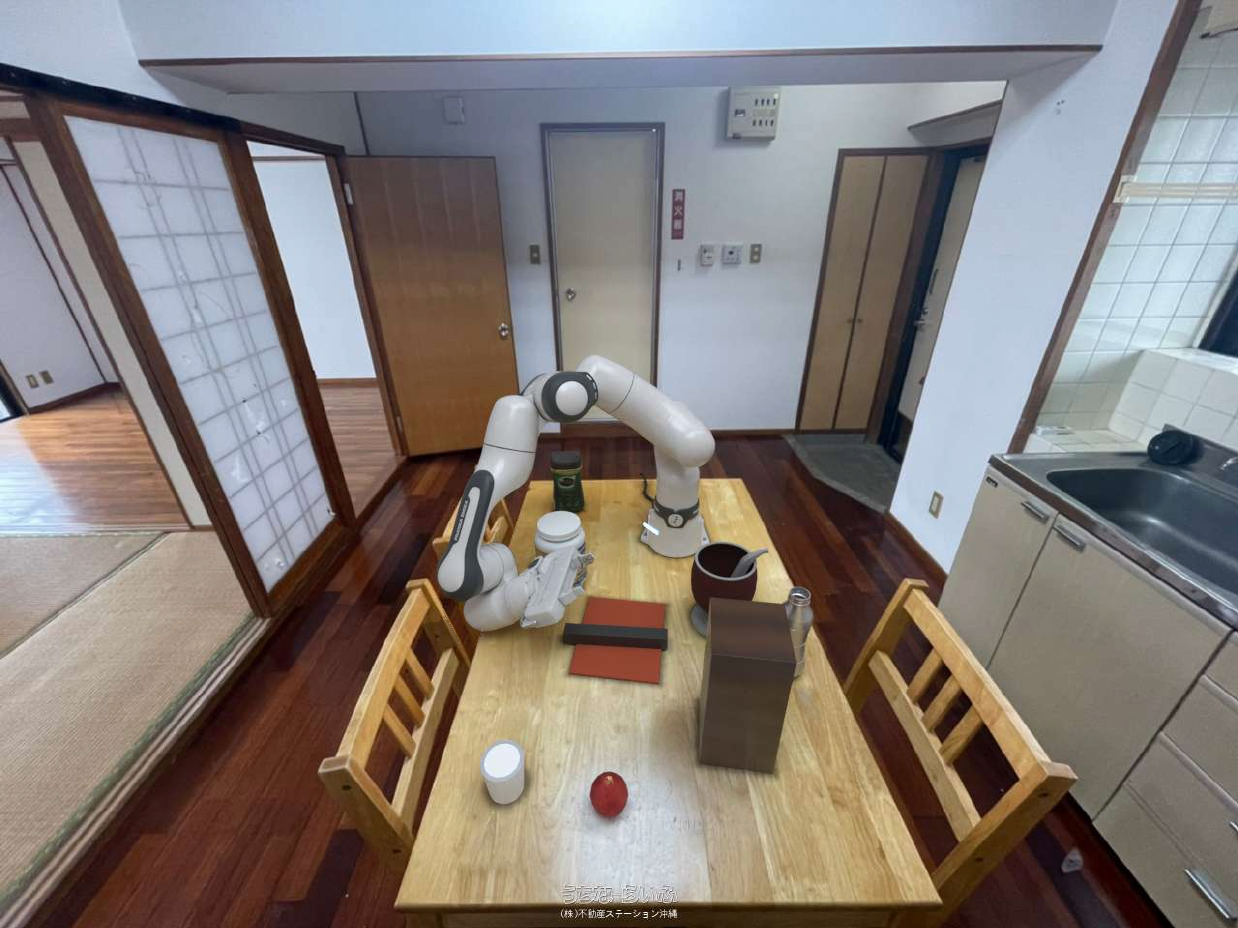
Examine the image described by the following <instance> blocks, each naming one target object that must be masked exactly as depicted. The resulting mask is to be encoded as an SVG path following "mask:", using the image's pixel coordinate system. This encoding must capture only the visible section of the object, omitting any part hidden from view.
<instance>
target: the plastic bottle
mask: <svg viewBox="0 0 1238 928" xmlns="http://www.w3.org/2000/svg"><path fill="white" fill-rule="evenodd" d="M811 597H812V595H811V592H810V590H808V589H806V588H805V587H802V586H793V587H791V588H790V590H789V592H788V595H787V599H786V600H784V601H783V602H781V603H780V604H785V607H786V612H787V617H788V622H789V627H790V632H791V637H792V642H793V647H794V652H795V657H796V662H797V664H796V669H795V673H794V678H796V677H799V676H800V675H801V674H802V672H803V670H804V668H805V665H806V664H805V662H806V657H805V651H806V643H807V639H808V636H809V633H810V631H811V628H812V626H813V624H814V620H815V617H814V616H815V615H814V611H813V609H812V608H811V606H810V603H811Z"/></svg>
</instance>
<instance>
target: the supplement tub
mask: <svg viewBox="0 0 1238 928" xmlns="http://www.w3.org/2000/svg"><path fill="white" fill-rule="evenodd" d="M533 538H534V539H533V543H534V551H535V558H536V557H539V556H542V557H543V558H544V557H545V556H546V555H548V554H550V553H552V552H554V551H556V550H559V549H561V548H564V547H567V546H574V547H576V549H577V550H578V551H579V553H580V554H583V555H585V554H587V547H586V545H587V544H586V533H585V530H584V528H583V527H582V523H581V518H580V517H579V516H578V515H577V514H576V513H575V512H567V511H556V510H554V511H550V512H548V513H545V514H544V515H542V516H541V517H540V518H539V519H537V522H536V531H535V533H534V536H533ZM587 566H588V565H586V563H582V565H581V566H579V568H578V571H577V574H576V577H575V580H574V583H573V586H572V588H573V587H574V585H576V584H579V583H582V584H583V585H584V583H585V582H586V580H587V577H588V576H587V575H588V569H587Z"/></svg>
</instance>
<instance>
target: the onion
mask: <svg viewBox="0 0 1238 928" xmlns="http://www.w3.org/2000/svg"><path fill="white" fill-rule="evenodd" d="M628 797H629V791H628V786H627V782H625V780H624V779H623V777H622V776H621V775H620V774H619V773H617V772H614V771H604V772H602V773H600V774H598V775H597V776H596V777H595V779H594V780H593V781H592V783H591V785H590V791H589V799H590V804H591V806H592V808H593V810H594V811H595V813H597V814H598V815H599V816H601V817H606V818H614V817H616V816H617V815H619V814H620V813H622V812H623V811H624V809H625V808H626V806H627V802H628Z"/></svg>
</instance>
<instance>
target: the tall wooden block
mask: <svg viewBox="0 0 1238 928" xmlns="http://www.w3.org/2000/svg"><path fill="white" fill-rule="evenodd" d="M796 664H797V662H796V657H795V652H794V647H793V642H792V637H791V632H790V627H789V622H788V617H787V612H786V607H785V604H781V603H777V602H766V601H756V600H752V601H745V600H734V599H723V598H712V597H710V604H709V615H708V625H707V635H706V637H705V645H704V657H703V665H702V666H703V667H702V674H701V675H702V676H701V677H702V678H701V685H700V686H701V687H700V694H699V695H700V697H699V765H705V766H711V767H719V768H727V769H735V770H743V771H751V772H758V773H764V774H765V773H766V774H773V773H774V769H775V764H776V760H777V755H778V750H779V746H780V743H781V737H782V733H783V729H784V722H785V720H786V714H787V709H788V705H789V700H790V696H791V693H792V687H793V682H794V678H795V677H794V673H795V669H796Z"/></svg>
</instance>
